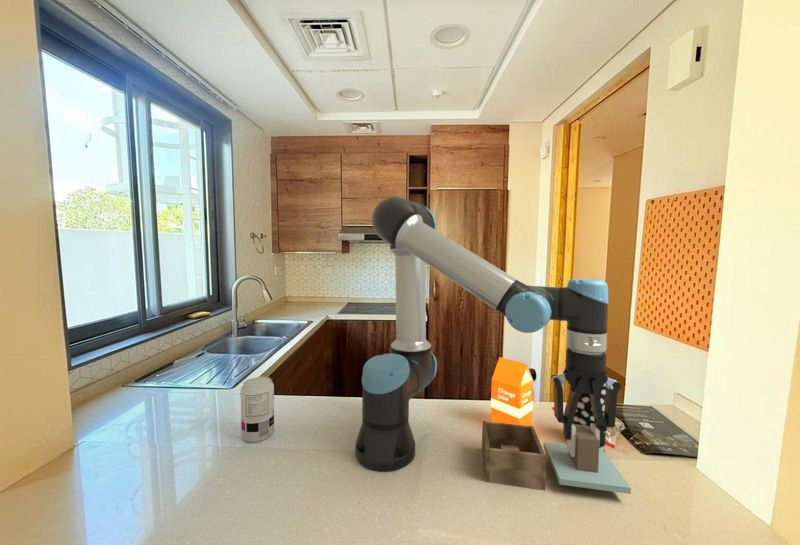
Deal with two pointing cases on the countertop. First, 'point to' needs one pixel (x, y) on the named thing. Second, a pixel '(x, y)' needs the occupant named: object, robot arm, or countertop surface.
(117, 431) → the countertop surface
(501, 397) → the orange juice
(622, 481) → the lid
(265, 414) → the supplement can
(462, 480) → the countertop surface
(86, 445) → the countertop surface
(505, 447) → the metal cube
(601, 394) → the white-spotted black cylinder
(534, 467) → the storage box
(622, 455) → the countertop surface
